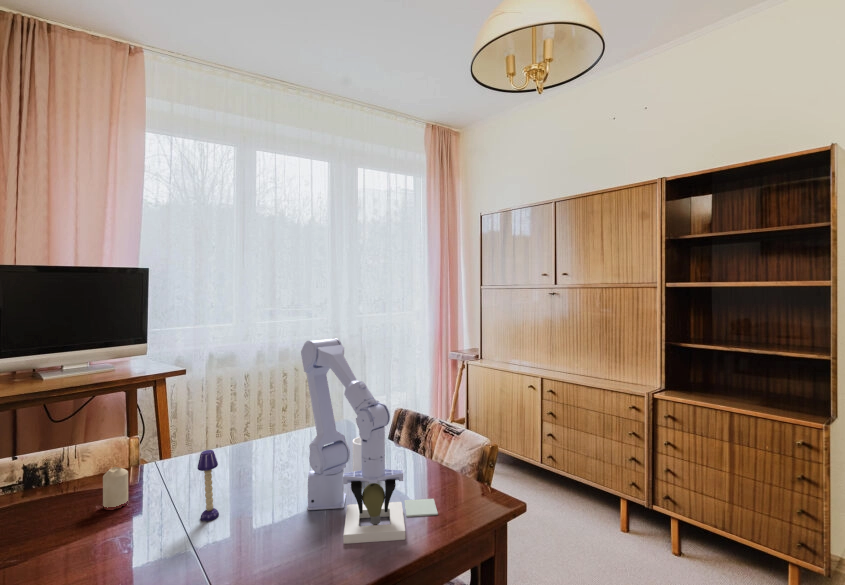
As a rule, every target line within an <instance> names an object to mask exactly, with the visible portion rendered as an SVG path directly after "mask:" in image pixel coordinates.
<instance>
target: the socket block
mask: <svg viewBox="0 0 845 585" xmlns="http://www.w3.org/2000/svg"><path fill="white" fill-rule="evenodd" d="M384 503H385V502H384ZM384 503H383V505H382V508H381V513H380V518H382V517H383V518H385V517H389V524H388V523H387V524H378V525H373V524H371V525H360V521H361V519H370V515H369V513H368V510H367V508H366V507H365V505H364V503H363V512H362V514H360V513H359V507H358V503H355V504H353V503H352V504H347V505H346V513H345V521H344V528H343V545H345V544H360V543H375V542H389V541H404V540H406V526H405V525H406V524H405V518H404V517H405V516H404V510H403V503H402V501H391V502H390V501H389V505H388V512H385V508H384Z"/></svg>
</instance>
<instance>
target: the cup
mask: <svg viewBox="0 0 845 585" xmlns="http://www.w3.org/2000/svg"><path fill="white" fill-rule="evenodd" d="M361 456H362V454H361V438H360V436H358V437H355V438H353V439H352V472H355V471H360V470H362V459H361Z"/></svg>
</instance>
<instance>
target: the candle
mask: <svg viewBox="0 0 845 585" xmlns="http://www.w3.org/2000/svg"><path fill="white" fill-rule="evenodd" d="M127 501H128V502H129V471H128V470H127V469H125V468H122V467H117V466H114V467H112V468H110V469H108V471H106V472H105V473H104V474H103V476H102V507H103V506H104V507H107V508H108V507H116V506H119V505H121V504H124V503H126V502H127Z"/></svg>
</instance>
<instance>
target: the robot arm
mask: <svg viewBox="0 0 845 585" xmlns="http://www.w3.org/2000/svg"><path fill="white" fill-rule="evenodd" d="M301 348H302V349H301V350H300V355H301V360H302V367H303V372H304V373H305V374H306V380H307V385H308V391H309V396H310V403H311V409H312V414H313V419H314V424H315V432H316V436H315V437H314V438H313V439H312V441H311V442H310V444H308V446H309V456H308V461H309V466H310V468H311V469H310V470H309V471H308V476H307V510H308V511H316V510H317V511H318V510H335V509H344V508H345V505H346V504H345V503H346V499H347V498H346V496H347V493H346V492H344V490H345V489H344V486H345V485H348V483H350V489H351V492H352V493H353V496H354V498H355V500H356V504H358V507H359V513H360V514H362V512H363V504H364V503H363V500H362V493H363V483H367V482H368V483H369V484H371V483H377V484H378V482H384V492H385V499H384V508H385V512H388V505H389V502H390V500H391V497H392V496H393V493H394V491H395V490H396V487H397V486H396V481H398V482H403V481H404V470H403V469H399V470H398V469H391V468H390V469H389V468H388V469H387V468H386V427H387V426H388V425H389V424H390V419H391V415H390V410H389V409H388V407H387V405H386V404H385V403H383V402H380V401H379V400H376V398H375V397H374V396H373V393H372V392H371V391H370V389H369V388H368V386H367V385H366V383H365V382H364V381H361V380H358V379H357V378H356V376H355V374H354V372H353V370H352V368H351V366H350V365H349V363H348V361H347V359H346V358H345V347H344V345H343V344H342V342H341V340H340V339H339V338H336V337H332V338H326V339H318V340H307V341H306V342H304V344H303V346H302V347H301ZM330 369H331V371H332V372H333V373H334V375H335V376H336V377H337V379H338V380H339V381H340V383H341V385H342V386H344V388H345V389H344V397H345V398H346V400H347V401H348V403H349V404H350V405H349V406H351V408H352V409H353V411H354V413H355V414H356V417H355V421H356V422H355V423H356V426H357V428H358V434H359V437H360V438H361V454H362V456H361V459H362V470H360V471H355V472H353V471H350V472H344V468H346V466H347V463H349V461H350V459H351V451H350V450H351V449H350V447H349V445H348V443H347V441H346V437H345V435H344V434H343V433H340V431H337V428H336V427H337V426H336V421H335V416H334V410H333V404H332V399H331V393H330V387H329V382H328V381H329V380H328V377H327V376H328V373H329V370H330Z"/></svg>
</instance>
